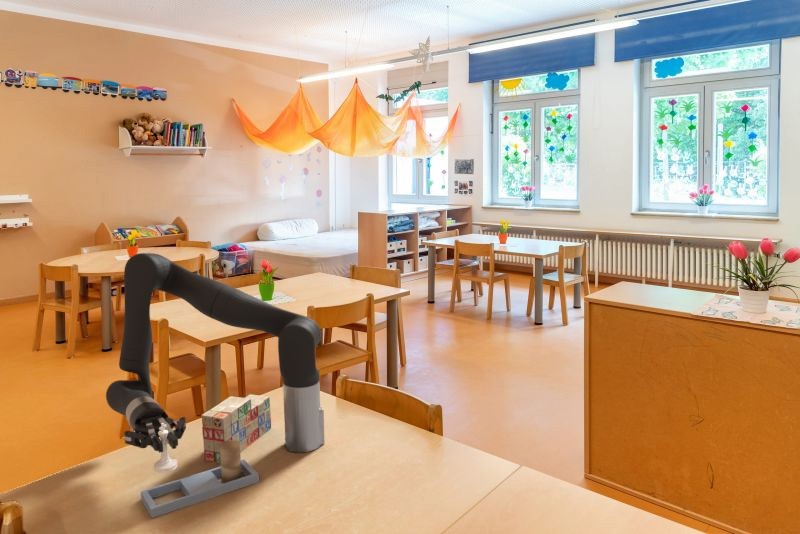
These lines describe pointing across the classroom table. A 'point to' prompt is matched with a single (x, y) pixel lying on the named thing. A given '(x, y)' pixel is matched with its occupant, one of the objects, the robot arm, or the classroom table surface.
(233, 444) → the tan brown upright column
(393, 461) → the classroom table surface
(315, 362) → the robot arm
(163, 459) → the chess piece
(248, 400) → the stack of blocks
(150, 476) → the classroom table surface
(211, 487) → the blue-grey slotted tray
